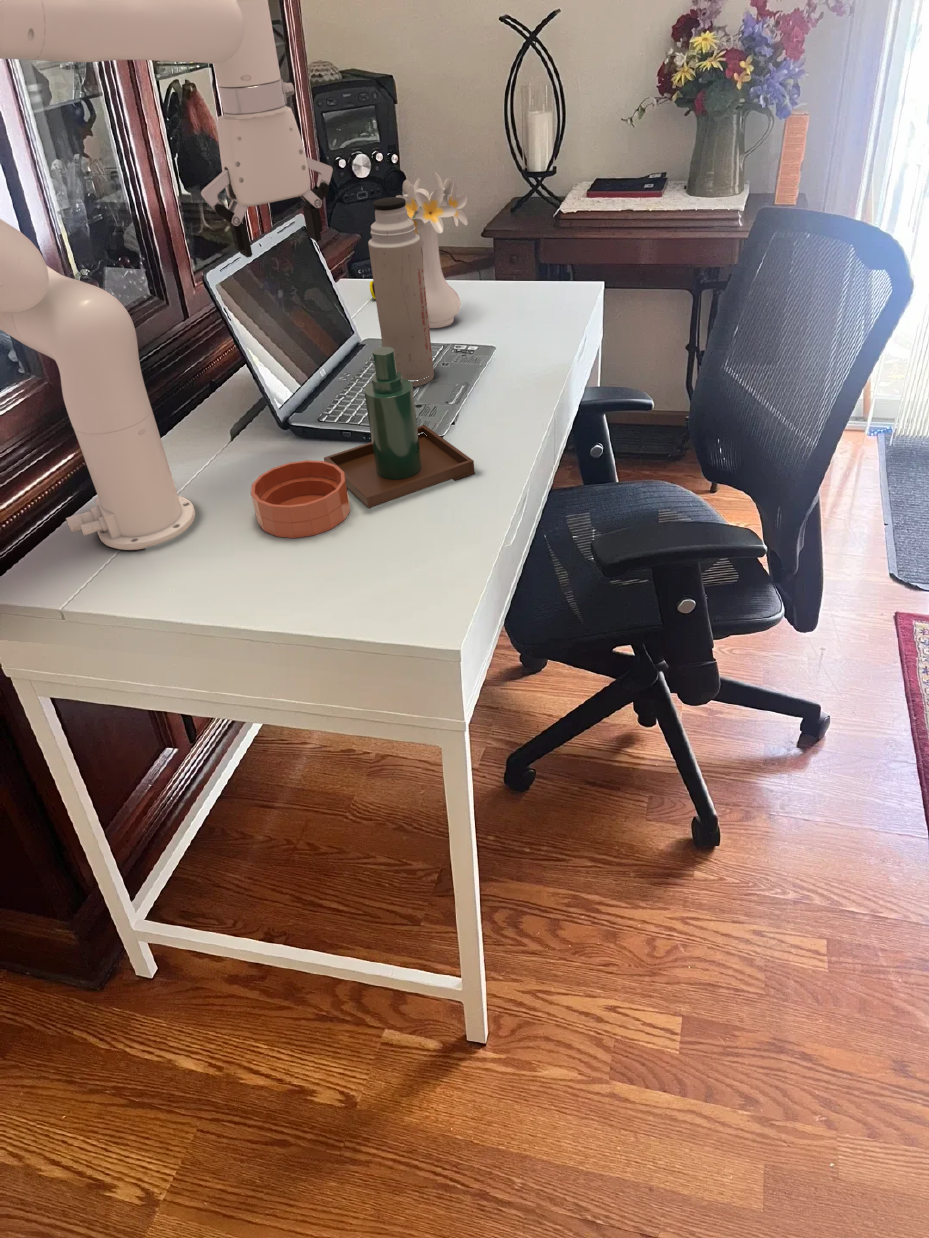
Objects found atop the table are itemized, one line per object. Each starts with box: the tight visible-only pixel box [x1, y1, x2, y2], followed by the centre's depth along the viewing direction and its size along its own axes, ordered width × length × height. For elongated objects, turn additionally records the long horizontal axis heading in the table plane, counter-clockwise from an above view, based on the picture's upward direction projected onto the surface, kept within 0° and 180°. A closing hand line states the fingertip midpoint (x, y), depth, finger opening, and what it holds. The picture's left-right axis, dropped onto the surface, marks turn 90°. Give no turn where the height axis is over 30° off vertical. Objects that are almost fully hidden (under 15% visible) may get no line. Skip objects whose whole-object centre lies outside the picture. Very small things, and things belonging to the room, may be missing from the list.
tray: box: [323, 424, 476, 509], centre depth 130 cm, size 16×14×2 cm
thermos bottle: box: [367, 196, 435, 388], centre depth 148 cm, size 8×8×28 cm
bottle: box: [363, 346, 422, 480], centre depth 125 cm, size 6×6×17 cm
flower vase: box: [395, 171, 469, 329], centre depth 168 cm, size 13×18×25 cm
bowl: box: [250, 459, 351, 539], centre depth 122 cm, size 12×12×5 cm
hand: (280, 247), depth 123 cm, fingers open, 9 cm apart
